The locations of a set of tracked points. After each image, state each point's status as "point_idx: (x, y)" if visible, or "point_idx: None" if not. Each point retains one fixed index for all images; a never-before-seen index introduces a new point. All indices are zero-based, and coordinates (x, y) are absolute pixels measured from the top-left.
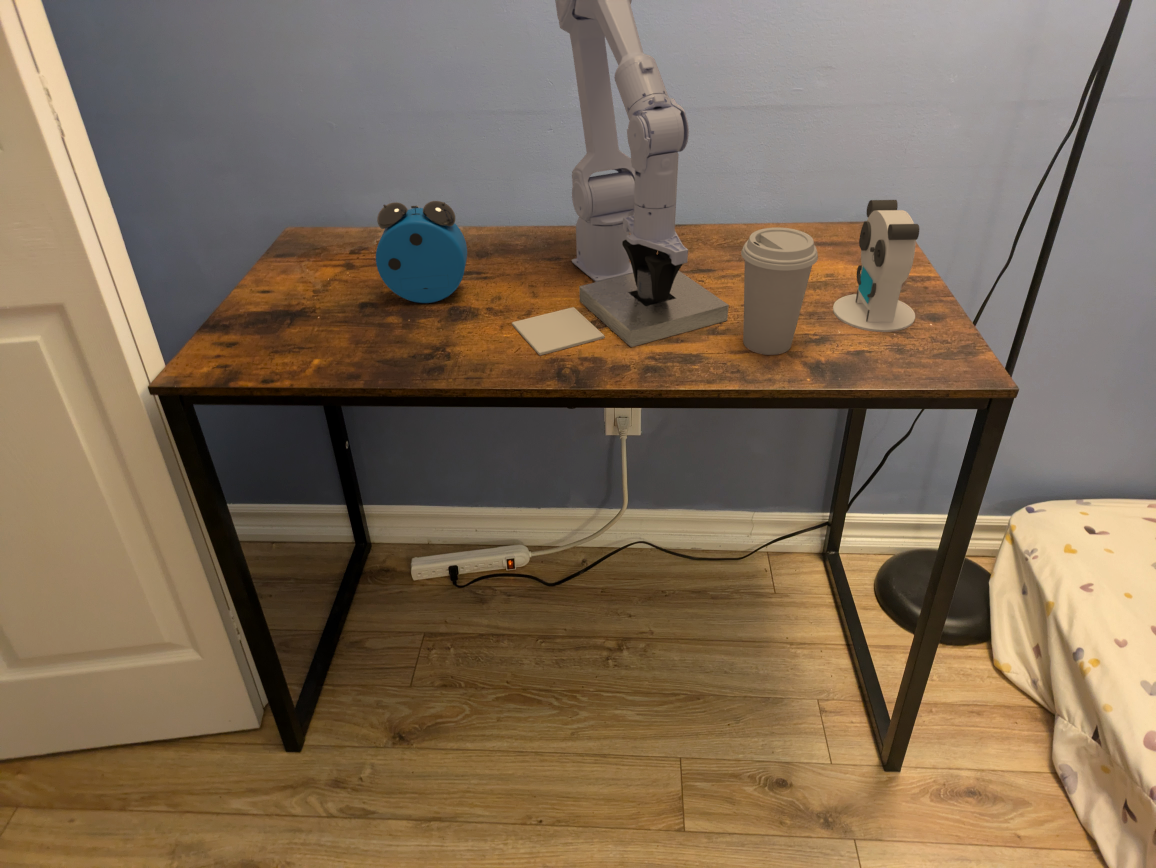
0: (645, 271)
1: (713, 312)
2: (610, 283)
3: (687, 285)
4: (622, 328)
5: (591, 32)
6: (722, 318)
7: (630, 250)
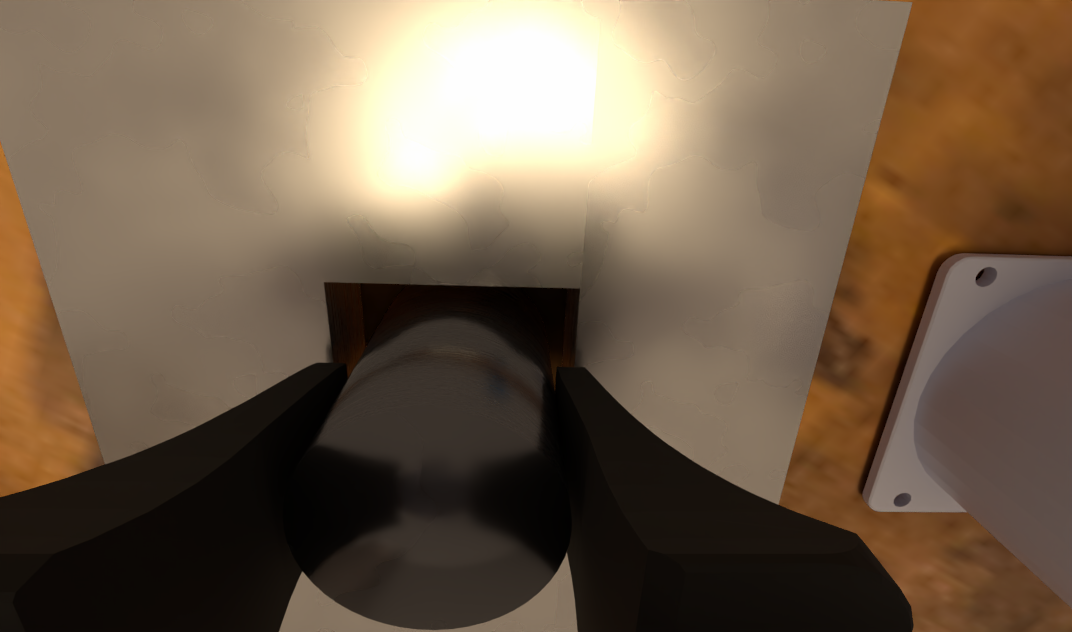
0: (436, 469)
1: None
2: (773, 253)
3: None
4: None
5: None
6: None
7: (630, 542)
